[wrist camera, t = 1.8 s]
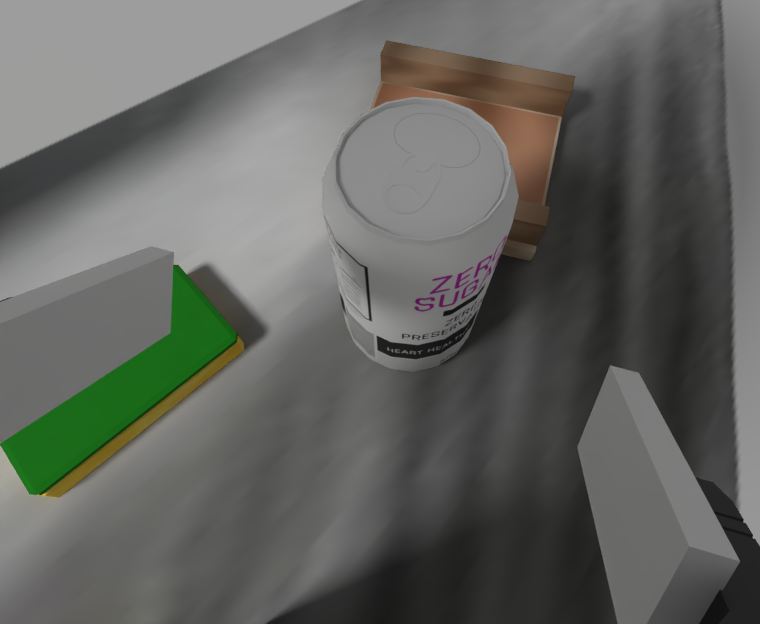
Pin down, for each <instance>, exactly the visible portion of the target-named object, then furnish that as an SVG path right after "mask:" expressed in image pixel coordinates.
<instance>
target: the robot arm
mask: <svg viewBox="0 0 760 624" xmlns="http://www.w3.org/2000/svg"><path fill="white" fill-rule="evenodd" d="M173 259H174V252H171V251H167V250H163V249H159V248H155V247H148V248H146V249H143V250H140V251H137V252H135V253H132V254H129V255H127V256H124V257H121V258H118V259H116V260H113V261H110V262H108V263H105V264H102V265H99V266H97V267H94V268H91V269H88V270H86V271H83V272H80V273H78V274H75V275H72V276H69V277H67V278H64V279H61V280H59V281H56V282H53V283H50V284H48V285H45V286H42V287H39V288H37V289H34V290H31V291H29V292H26V293H23V294H20V295H18V296H15V297H10V298H7V299H4V300H2V301H0V443H2V442H3V441H5V440H6V439H8V438H10V437H11V436H13V435H14V434H16V433H17V432H19V431H20V430H22V429H23V428H25V427H26V426H28V425H30V424H31V423H33V422H34V421H36V420H37V419H39V418H40V417H42V416H43V415H45V414H46V413H48V412H50V411H51V410H53V409H54V408H56V407H57V406H59V405H60V404H62V403H63V402H65V401H66V400H68V399H70V398H71V397H73V396H74V395H76V394H77V393H79V392H80V391H82V390H83V389H85V388H86V387H88V386H90V385H91V384H93V383H94V382H96V381H97V380H99V379H100V378H102V377H103V376H105V375H106V374H108V373H110V372H111V371H113V370H114V369H116V368H117V367H119V366H120V365H122V364H123V363H125V362H126V361H128V360H130V359H131V358H133V357H134V356H136V355H137V354H139V353H140V352H142V351H143V350H145V349H146V348H148V347H150V346H151V345H153V344H154V343H156V342H157V341H159V340H160V339H162V338H163V337H165V336H166V335H168V334H170V333H171V309H172V284H173ZM577 448H578V453H579V457H580V461H581V466H582V470H583V474H584V479H585V483H586V487H587V492H588V496H589V501H590V505H591V509H592V514H593V518H594V522H595V527H596V531H597V535H598V540H599V544H600V549H601V553H602V557H603V562H604V566H605V570H606V575H607V579H608V583H609V588H610V592H611V597H612V601H613V605H614V610H615V614H616V618H617V623H618V624H760V546H759V545H758V543H757V542H756V540H755V539H753V538H752V536H753V535H752V533H751V531H750V530H749V528H748V526H747V525H746V523H743V518H742V516H741V515H740V513H739V511H738V510H737V508H736V506H735V505H734V503H733V501H732V500H731V499H730V498H729V497H728V496H727V495H725V494H724V493H723V492H722V491H721V490H720V489H719V488H718V487H717V486H716V485H715V484H714V483H713V482H710V481H706V480H702V479H699V478H695V476H694V474H693V473H692V471H691V469H690V467H689V465H688V463H687V461H686V460H685V458H684V456H683V454H682V452H681V450H680V448H679V447H678V445H677V443H676V441H675V439H674V437H673V435H672V434H671V432H670V430H669V428H668V426H667V424H666V422H665V421H664V419H663V417H662V415H661V413H660V411H659V409H658V407H657V406H656V404H655V402H654V400H653V398H652V396H651V394H650V393H649V391H648V389H647V387H646V385H645V383H644V381H643V380H642V378H641V376H640V374H639V373H638V372H634V371H630V370H626V369H622V368H618V367H614V366H611V365H610V367H609V370H608V372H607V375H606V377H605V380H604V382H603V385H602V387H601V390H600V392H599V395H598V397H597V399H596V402H595V404H594V407H593V409H592V412H591V414H590V417H589V419H588V422H587V424H586V427H585V429H584V432H583V434H582V437H581V439H580V442H579V444H578V447H577Z"/></svg>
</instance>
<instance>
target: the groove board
mask: <svg viewBox="0 0 760 624" xmlns="http://www.w3.org/2000/svg"><path fill="white" fill-rule="evenodd" d="M574 79H575V76H570V75H565V74H560V73H555V72H549V71H544V70H539V69H533V68H528V67H523V66H518V65H512V64H507V63H502V62H496V61H491V60H486V59H481V58H475V57H470V56H465V55H459V54H454V53H449V52H444V51H438V50H433V49H428V48H422V47H417V46H412V45H407V44H401V43H396V42H391V41H386V42H385V45H384V47H383V50H382V52H381V82H380V85H379V88H378V90H377V93H376V95H375V98H374V101H373V103H372V106H371V109H370V110H372V109H374V108H375V107H377V106H379V105H381V104H383V103H385V102H390V101H395V100H400V99H405V98H410V97H423V98H436V99H444V100H447V101H450V102H453V103H455V104H458V105H461V106H464V107H467V108H469V109H471V110H472V111H474V112H475V113H476V114H478V115H479V116H480V117H482V118H483V119H484V120H486V121H487V122H488V123H490V124H491V125H492V126H493V127H494V129H495V130H496V132H497V133H498V135H499V136H500V138H501V139H502V141H503V142H504V144H505V145H506V147H507V152H508V157H509V161H510V163H511V165H512V167H513V169H514V175H515V180H516V185H517V190H518V195H519V198H518V202H517V206H516V210H515V214H514V218H513V223H512V226H511V229H510V231H509V234H508V236H507V239H506V242H505V244H504V247H503V249H502V252H501V254H502V255H506V256H510V257H515V258H519V259H523V260H527V261H531V260H532V258H533V256H534V254H535V252H536V247H537V245H538V243H539V241H540V239H541V237H542V235H543V233H544V231H545V229H546V226H547V222H548V216H549V211H550V207H549V206H545V201H546V196H547V191H548V186H549V181H550V176H551V170H552V165H553V160H554V155H555V150H556V145H557V140H558V135H559V129H560V124H561V119H562V115H563V113H564V111H565V108H566V106H567V103H568V101H569V98H570V96H571V93H572V90H573V85H574Z"/></svg>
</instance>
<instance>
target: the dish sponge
mask: <svg viewBox="0 0 760 624" xmlns="http://www.w3.org/2000/svg"><path fill="white" fill-rule="evenodd" d="M243 351H244V342H243V341H242V340H241V338H240V337H239V336H238V334H237V333H236V332H235V331H234V329H233V328H232V327H231V326H230V325H229V324H228V322H227V321H226V320H225V319H224V318H223V317H222V315H221V314H220V313H219V312H218V311H217V310H216V308H215V307H214V306H213V305H212V304H211V303H210V301H209V300H208V299H207V298H206V297H205V296H204V294H203V293H202V292H201V291H200V290H199V289H198V287H197V286H196V285H195V284H194V283H193V282H192V280H191V279H190V278H189V277H188V276H187V275H186V273H185V272H184V271H183V270H182V269H181V268H180V266H179V265H173V284H172V309H171V333H170V334H168V335H166V336H165V337H163V338H162V339H160V340H159V341H157V342H156V343H154V344H153V345H151V346H150V347H148V348H146V349H145V350H143V351H142V352H140V353H139V354H137V355H136V356H134V357H133V358H131V359H130V360H128V361H126V362H125V363H123V364H122V365H120V366H119V367H117V368H116V369H114V370H113V371H111V372H110V373H108V374H106V375H105V376H103V377H102V378H100V379H99V380H97V381H96V382H94V383H93V384H91V385H90V386H88V387H86V388H85V389H83V390H82V391H80V392H79V393H77V394H76V395H74V396H73V397H71V398H70V399H68V400H66V401H65V402H63V403H62V404H60V405H59V406H57V407H56V408H54V409H53V410H51V411H50V412H48V413H46V414H45V415H43V416H42V417H40V418H39V419H37V420H36V421H34V422H33V423H31V424H30V425H28V426H26V427H25V428H23V429H22V430H20V431H19V432H17V433H16V434H14V435H13V436H11V437H10V438H8V439H6V440H5V441H3V442H2V443H0V445H1V447H2V448H3V450H4V452H5V453H6V455H7V457H8V459H9V460H10V462H11V464H12V465H13V467H14V469H15V470H16V472H17V474H18V475H19V477H20V479H21V480H22V482H23V484H24V485H25V487H26V489H27V491H28V492H29V494H33V495H40V496H47V497H60V496H61V495H63V494H64V493H65V492H66V491H68V490H69V489H70V488H71V487H73V486H74V485H75V484H76V483H78V482H79V481H80V480H81V479H83V478H84V477H85V476H86V475H88V474H89V473H90V472H92V471H93V470H94V469H95V468H97V467H98V466H99V465H100V464H102V463H103V462H104V461H105V460H107V459H108V458H109V457H110V456H112V455H113V454H114V453H115V452H117V451H118V450H119V449H120V448H122V447H123V446H124V445H126V444H127V443H128V442H129V441H131V440H132V439H133V438H134V437H136V436H137V435H138V434H139V433H141V432H142V431H143V430H144V429H146V428H147V427H148V426H149V425H151V424H152V423H153V422H155V421H156V420H157V419H158V418H160V417H161V416H162V415H163V414H165V413H166V412H167V411H168V410H170V409H171V408H172V407H173V406H175V405H176V404H177V403H178V402H180V401H181V400H182V399H184V398H185V397H186V396H187V395H189V394H190V393H191V392H192V391H194V390H195V389H196V388H197V387H199V386H200V385H201V384H202V383H204V382H205V381H206V380H207V379H209V378H210V377H211V376H212V375H214V374H215V373H216V372H218V371H219V370H220V369H221V368H223V367H224V366H225V365H226V364H228V363H229V362H230V361H231V360H233V359H234V358H235V357H236V356H238V355H239V354H240V353H241V352H243Z"/></svg>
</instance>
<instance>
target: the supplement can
mask: <svg viewBox="0 0 760 624" xmlns="http://www.w3.org/2000/svg"><path fill="white" fill-rule="evenodd" d="M518 198H519V195H518V190H517V185H516V180H515V175H514V169H513V167H512V165H511V163H510V161H509V157H508V152H507V147H506V145H505V144H504V142H503V141H502V139H501V138H500V136H499V135H498V133H497V132H496V130H495V129H494V127H493V126H492V125H491V124H490V123H488V122H487V121H486V120H484V119H483V118H482V117H480V116H479V115H478V114H476V113H475V112H474V111H472V110H471V109H469V108H467V107H464V106H461V105H458V104H455V103H453V102H450V101H447V100H444V99H436V98H423V97H410V98H405V99H400V100H395V101H390V102H385V103H383V104H381V105H379V106H377V107H375V108H374V109H372V110H370V111H368V112H366V113H364V114H362V115H361V116H360V117H359V118H358V119H357V120H356V121H355V122H354V123H353V124H352V125H351V126H350V127H349V128H348V129H347V130H346V131H345V132H344V133H343V135H342V137H341V139H340V142H339V144H338V146H337V149H336V150H335V151H334V153H333V155H332V157H331V160H330V162H329V164H328V167H327V169H326V171H325V174H324V176H323V179H322V202H323V212H324V217H325V222H326V227H327V232H328V237H329V242H330V247H331V252H332V257H333V262H334V267H335V272H336V276H337V281H338V286H339V291H340V296H341V301H342V306H343V311H344V316H345V321H346V325H347V327H348V329H349V332H350V334H351V336H352V339H353V341H354V343H355V344H356V345H357V346H358V347H359V348H360V349H361V350H362V351H363V352H364V353H365V354H366V355H367V356H368V357H369V358H370V359H371V360H373V361H375V362H377V363H379V364H381V365H384V366H386V367H388V368H390V369H395V370H404V371H413V372H415V371H419V370H424V369H428V368H432V367H436V366H438V365H440V364H441V363H443V362H445V361H446V360H448V359H449V358H451V357H452V356H454V355H455V354H456V353H457V352H458V351H459V349H460V348H461V346H462V345H463V344H464V342H465V341H466V340H467V338H468V337H469V334H470V332H471V329H472V327H473V324H474V322H475V319H476V316H477V314H478V311H479V309H480V306H481V303H482V301H483V298H484V296H485V293H486V291H487V288H488V285H489V283H490V280H491V278H492V275H493V273H494V270H495V267H496V265H497V262H498V260H499V257H500V254H501V252H502V249H503V247H504V244H505V242H506V239H507V236H508V234H509V231H510V229H511V226H512V223H513V218H514V214H515V210H516V206H517V202H518Z"/></svg>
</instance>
